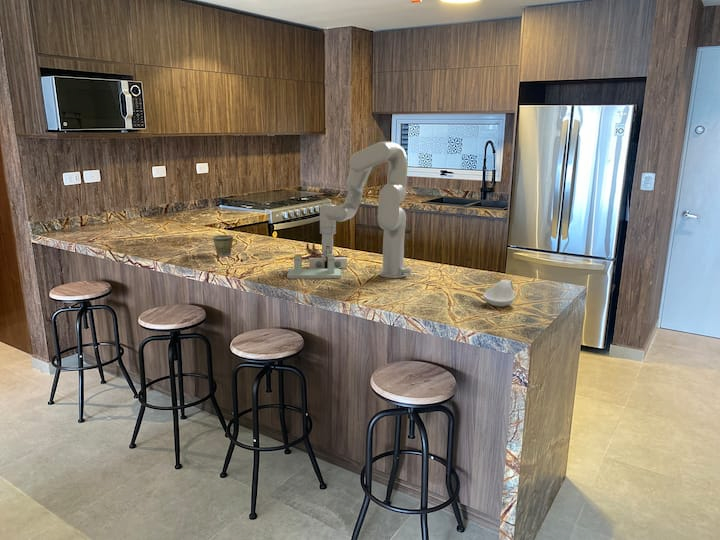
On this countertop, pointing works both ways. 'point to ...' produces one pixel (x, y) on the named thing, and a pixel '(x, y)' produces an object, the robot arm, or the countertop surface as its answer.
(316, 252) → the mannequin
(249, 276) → the countertop surface
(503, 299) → the spoon rest
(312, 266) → the cream rectangular beam
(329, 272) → the display stand
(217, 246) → the ceramic cup
